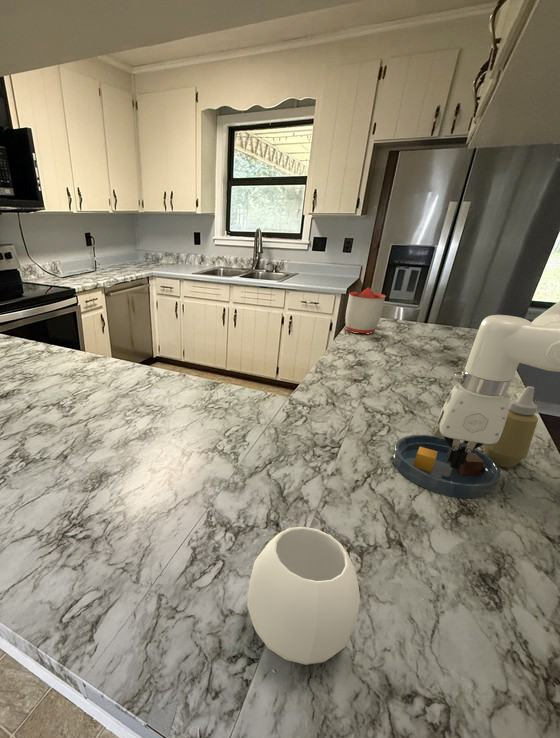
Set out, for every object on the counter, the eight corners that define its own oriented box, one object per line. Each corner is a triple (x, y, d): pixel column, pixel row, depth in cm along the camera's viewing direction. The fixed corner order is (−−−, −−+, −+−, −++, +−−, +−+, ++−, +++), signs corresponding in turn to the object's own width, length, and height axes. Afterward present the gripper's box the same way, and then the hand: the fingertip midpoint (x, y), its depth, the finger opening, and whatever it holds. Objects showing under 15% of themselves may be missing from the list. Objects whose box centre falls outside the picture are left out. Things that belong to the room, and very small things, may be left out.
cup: (333, 587, 57) (351, 516, 51) (362, 683, 46) (390, 606, 40) (242, 582, 58) (249, 511, 52) (247, 676, 46) (257, 599, 40)
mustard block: (433, 465, 86) (437, 451, 84) (431, 472, 83) (436, 458, 81) (415, 459, 87) (419, 446, 86) (412, 467, 85) (417, 453, 83)
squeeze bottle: (516, 456, 90) (549, 383, 82) (524, 475, 84) (562, 398, 75) (474, 448, 93) (503, 377, 85) (480, 465, 87) (511, 390, 78)
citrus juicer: (370, 327, 193) (380, 284, 184) (381, 337, 178) (392, 291, 169) (338, 325, 194) (345, 283, 185) (346, 335, 179) (355, 289, 170)
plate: (479, 456, 90) (484, 443, 88) (507, 510, 74) (515, 495, 72) (388, 441, 95) (392, 428, 94) (396, 487, 79) (400, 473, 77)
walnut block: (469, 466, 85) (475, 453, 84) (478, 476, 82) (484, 462, 81) (453, 465, 86) (458, 452, 84) (461, 475, 82) (467, 461, 81)
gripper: (443, 384, 73) (416, 467, 81) (539, 397, 69) (500, 482, 77) (436, 371, 79) (411, 449, 88) (523, 382, 75) (488, 462, 84)
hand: (453, 464), depth 82 cm, fingers closed
